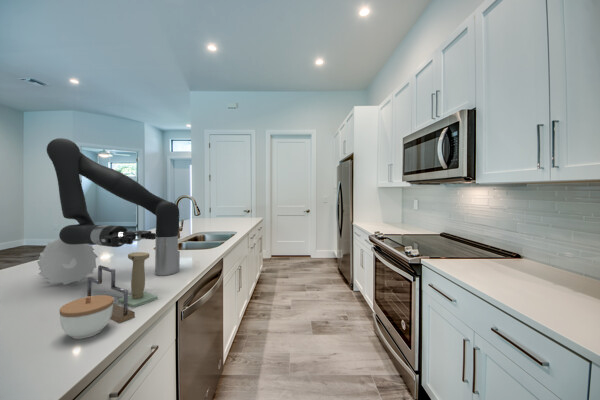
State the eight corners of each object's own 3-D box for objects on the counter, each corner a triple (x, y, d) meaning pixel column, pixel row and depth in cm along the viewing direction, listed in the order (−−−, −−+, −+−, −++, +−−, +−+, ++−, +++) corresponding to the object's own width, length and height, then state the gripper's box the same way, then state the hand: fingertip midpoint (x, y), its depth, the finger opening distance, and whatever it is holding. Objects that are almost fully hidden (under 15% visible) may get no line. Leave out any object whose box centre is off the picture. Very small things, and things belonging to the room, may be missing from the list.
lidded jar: (93, 344, 59) (94, 305, 59) (46, 345, 58) (46, 306, 58) (122, 321, 70) (122, 289, 70) (82, 322, 69) (82, 289, 69)
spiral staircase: (79, 278, 115) (84, 291, 97) (28, 269, 103) (24, 281, 86) (100, 241, 121) (109, 247, 103) (55, 228, 109) (56, 232, 92)
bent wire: (94, 299, 84) (95, 260, 83) (134, 317, 72) (135, 271, 72) (80, 304, 80) (80, 263, 80) (119, 323, 69) (120, 275, 69)
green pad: (142, 293, 89) (142, 291, 89) (157, 299, 85) (157, 296, 85) (118, 301, 82) (118, 298, 82) (133, 308, 78) (133, 304, 78)
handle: (140, 301, 81) (141, 256, 81) (123, 299, 82) (124, 254, 82) (151, 295, 86) (152, 253, 85) (135, 293, 87) (136, 251, 86)
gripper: (87, 228, 81) (122, 230, 76) (128, 223, 95) (161, 225, 90) (87, 250, 81) (123, 254, 76) (129, 242, 95) (161, 245, 90)
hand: (143, 238), depth 83 cm, fingers open, 8 cm apart
